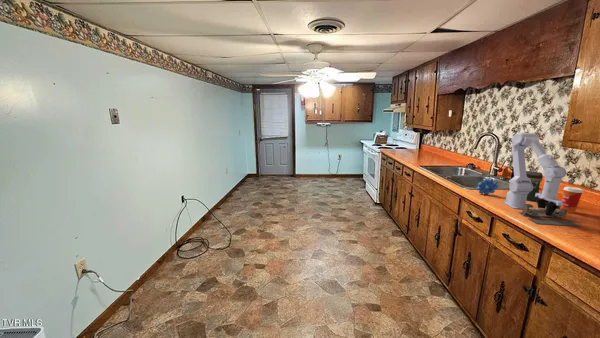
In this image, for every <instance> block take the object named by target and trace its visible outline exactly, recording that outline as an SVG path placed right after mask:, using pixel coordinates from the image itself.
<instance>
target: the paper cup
mask: <svg viewBox="0 0 600 338" xmlns="http://www.w3.org/2000/svg"><path fill="white" fill-rule="evenodd" d="M583 193H584V190H583V189H582V188H579V187H573V186H564V188H563V193H562V197H561V198H562V199H561V202H563V204H562V206H560V209H567V214H575V213H576V211H577V207H578V206H579V202H580V201H581V197H582V194H583Z"/></svg>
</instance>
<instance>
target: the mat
mask: <svg viewBox="0 0 600 338" xmlns="http://www.w3.org/2000/svg"><path fill="white" fill-rule="evenodd" d="M527 220H529V221H530V222H532V223H534V224H535V225H544V226H545V225H549V226H564V227H579V228H580V227H582V225H580V224H579V223H576V222H574V221H571V220H563V219H561V220H560V219H546V218H545V219H544V218H543V219H542V218H527Z"/></svg>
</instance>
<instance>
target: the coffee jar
mask: <svg viewBox="0 0 600 338" xmlns="http://www.w3.org/2000/svg"><path fill="white" fill-rule="evenodd" d="M526 175H527V177H528V178H529V179H531V183H532V185H533V190H532V191H531V192H529V194H528V195H527V199H526V201H530V202H536V200H535V199H536V198H539V197H536V196H535V194H536V193H540V185H541V182H542V181H543V177H544V173H543V172H538V171H533V170H532V171H531V170H530V171H528V170H526Z"/></svg>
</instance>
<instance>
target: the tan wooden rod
mask: <svg viewBox="0 0 600 338" xmlns="http://www.w3.org/2000/svg"><path fill="white" fill-rule="evenodd" d="M531 211H538V213H542V214H546V208H538V207H533V208H529V207H524V212H531ZM558 212H564V213H566V215H568V213H567V209H561V208H560V209H556V210H555V211H554V212H553V213H557V214H558Z"/></svg>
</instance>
